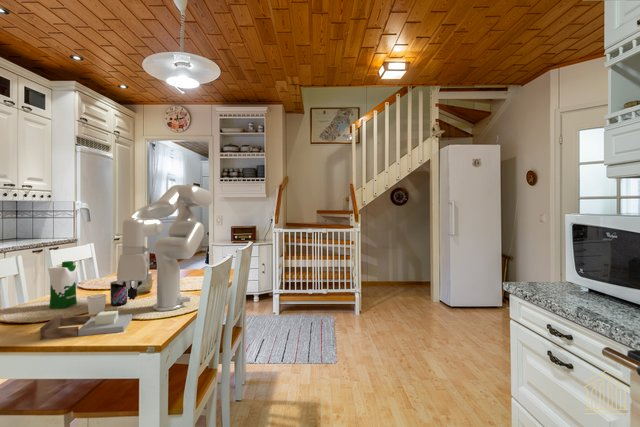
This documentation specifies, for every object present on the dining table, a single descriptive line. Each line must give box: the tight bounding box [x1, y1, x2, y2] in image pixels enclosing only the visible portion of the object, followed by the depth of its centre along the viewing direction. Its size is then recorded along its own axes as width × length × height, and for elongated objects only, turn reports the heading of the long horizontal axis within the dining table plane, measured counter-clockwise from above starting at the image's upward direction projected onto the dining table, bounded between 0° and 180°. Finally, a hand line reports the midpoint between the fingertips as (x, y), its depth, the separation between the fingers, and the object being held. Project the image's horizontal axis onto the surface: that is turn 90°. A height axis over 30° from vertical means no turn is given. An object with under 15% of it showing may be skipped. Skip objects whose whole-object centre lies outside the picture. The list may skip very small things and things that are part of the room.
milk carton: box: [47, 260, 79, 309], centre depth 149 cm, size 9×9×20 cm
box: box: [39, 314, 92, 340], centre depth 121 cm, size 11×14×4 cm
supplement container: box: [110, 280, 128, 307], centre depth 153 cm, size 7×7×10 cm
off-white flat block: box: [94, 310, 119, 325], centre depth 125 cm, size 6×6×3 cm
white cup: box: [86, 294, 107, 316], centre depth 141 cm, size 7×7×7 cm
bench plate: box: [77, 313, 133, 337], centre depth 125 cm, size 14×14×2 cm
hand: (132, 298), depth 127 cm, fingers closed
